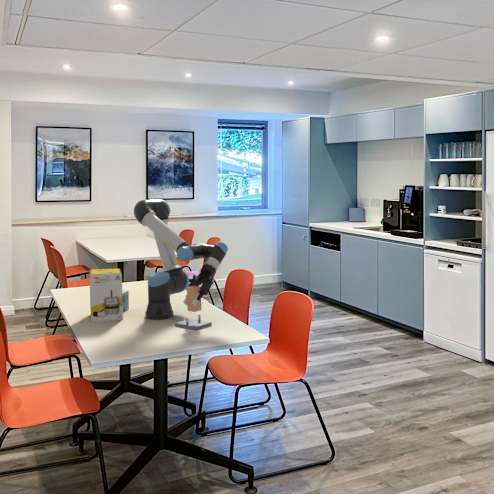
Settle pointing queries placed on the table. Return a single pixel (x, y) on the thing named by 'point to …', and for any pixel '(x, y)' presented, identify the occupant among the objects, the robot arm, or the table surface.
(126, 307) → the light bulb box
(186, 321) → the pin tray
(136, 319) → the table surface
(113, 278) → the packaging box
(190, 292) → the case
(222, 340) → the table surface
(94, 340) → the table surface
